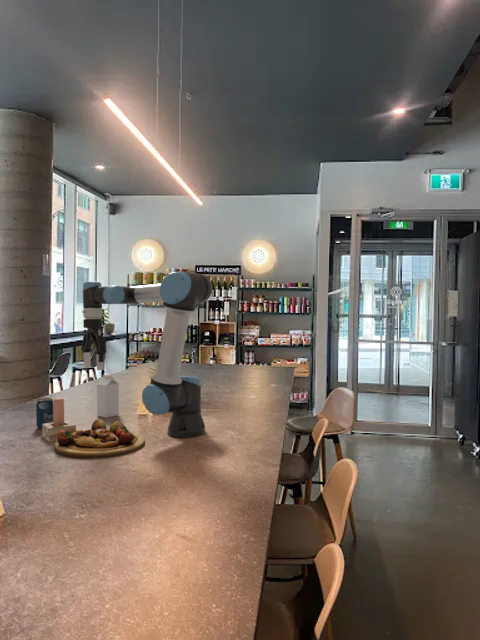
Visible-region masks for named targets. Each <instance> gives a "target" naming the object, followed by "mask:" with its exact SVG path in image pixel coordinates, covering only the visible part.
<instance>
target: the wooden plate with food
mask: <svg viewBox="0 0 480 640" xmlns="http://www.w3.org/2000/svg"><path fill="white" fill-rule="evenodd" d="M90 427H91V429H86V430H83V429H76V431H74V432H73V433H71V432H70V431H66V430H62V431H60V432H59V434H58V439H57V441H55V443H54V445H53V446H54V447H53V448H54V450H55V451H56V453H58V454H60V455H62V456H65V457H70V458H76V459H101V458H102V459H104V458H111V457H117V456H118V457H119V456H124V455H127V454H130V453H134V452H136V451H138V450H140V449H142V448H143V447H144V446H145V443H146V441H145V437H144V436H142V435H141V434H139V433H136V432H133V431H130V430H129V429H128V428H127V427H126V426H125V424H124V423H123V422H121V421H119V420H116V421H114V422H113V423H112V424H111V425H110V426H109V429H108V428H107V424H106V423H105V421H103V420H102V419H100V418H97V419H95V420H94V421H93V422H92V424H91V426H90Z"/></svg>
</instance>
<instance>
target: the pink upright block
mask: <svg viewBox="0 0 480 640" xmlns="http://www.w3.org/2000/svg"><path fill="white" fill-rule="evenodd" d="M52 401H53V427H56V426H62V425H64V421H65V398H63V397H58V398H57V397H55V398H52Z"/></svg>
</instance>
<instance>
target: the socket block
mask: <svg viewBox="0 0 480 640" xmlns="http://www.w3.org/2000/svg"><path fill="white" fill-rule="evenodd" d="M62 430H66V431H70V432H71V433H73V432H74V431H77V425H76V424H75V423H73V422H71V421H70V420H68V419H67V420H64V425H62V426H56V427H53V422H52V423H44V424H42V429H41V434H42V435H41V437H42V438H44V439H45V440H46V441H48V442H49V443H51V442H56V441H57V439H58V434H59V432H60V431H62Z"/></svg>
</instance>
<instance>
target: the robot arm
mask: <svg viewBox="0 0 480 640" xmlns="http://www.w3.org/2000/svg"><path fill="white" fill-rule="evenodd" d="M212 294H213V284H212V282H211V279H209V278H208V277H207V276H206V275H204V274H202V273H194V272H186V271H173V272H170V273H168V274H166V275H165V276H164V278H163V279H162V281H161V283H157V284H145V285H144V284H143V285H135V286H122V285H121V286H120V285H116V284H110V285H102V282H100V281H85V282H83V284H82V306H83V307H82V309H83V310H82V311H81V312H82V314H83V321H82V322H83V325H82V326H83V328H84V329H83V337H82V342H81V349H80V350H81V351H82V353H83V368H84V369H85V368H87V369H88V368H92V367H91V353H92V351H91V347H92V344H93V345H94V347H95V350H96V353H95V355H96V371H104V370H105V366H104V365H105V361H104V360H105V359H104V354H106V353H107V349H106V344H105V340H104V334H103V330H101V328H103V319H102V317H103V309H102V308H103V307H102V305H141V304H148V303H149V304H150V303H152V304H153V303H163V307H164V309H165V310H166V313H165V319H164V325H163V330H162V338H161V343H160V350H159V355H158V360H157V361H158V362H157V366H156V372H155V373H154V374H152V375H151V376H150V383H149V384H147V385H146V386H145V387H144V388H143V390H142V393H141V401H142V404H143V405H144V408H145V409H146V410H147V412H149V413H150V414H152V415H154V416H159V415H166V414H169V413H171V416H170V420H169V423H168V426H167V434H168V436H171V437H174V438H195V437H200V436H203V435H204V434H206V424H205V421H204V418H203V417H202V416H203V415H202V403H201V402H202V391H201V390H202V386H201V385H202V383H201V382H202V381H201V379H200V377H197V376H190V375H189V376H188V375H180V371H181V366H182V360H183V355H184V349H185V343H186V337H187V333H188V327H189V321H190V317H191V316H190V315H191V314H193V313H194V312H195V311H196V310H195V309H196V306H197V305H200V304H204V303H205V302H207V301H208V300H209V299H210V297H211V296H212ZM99 329H100V330H99Z"/></svg>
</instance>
